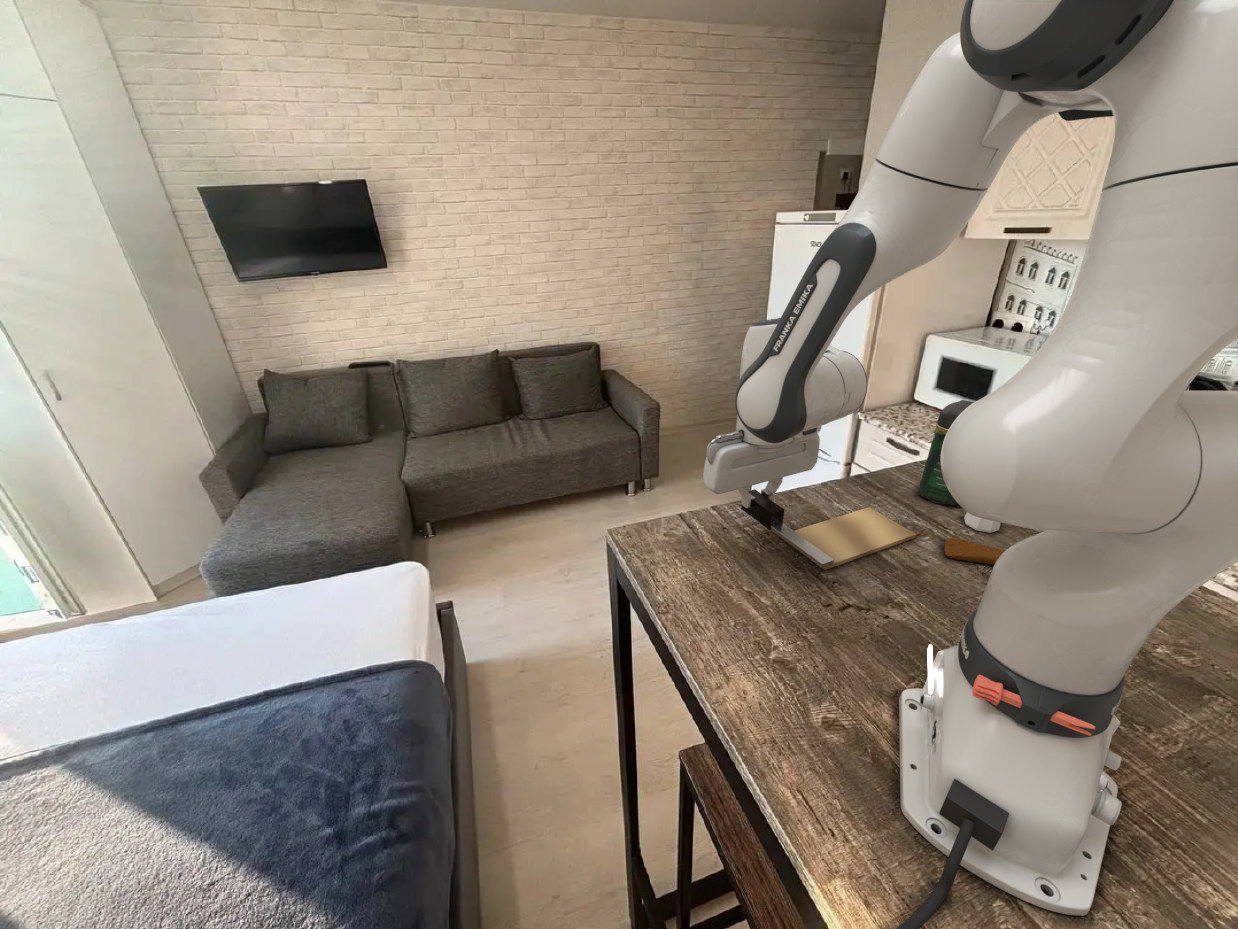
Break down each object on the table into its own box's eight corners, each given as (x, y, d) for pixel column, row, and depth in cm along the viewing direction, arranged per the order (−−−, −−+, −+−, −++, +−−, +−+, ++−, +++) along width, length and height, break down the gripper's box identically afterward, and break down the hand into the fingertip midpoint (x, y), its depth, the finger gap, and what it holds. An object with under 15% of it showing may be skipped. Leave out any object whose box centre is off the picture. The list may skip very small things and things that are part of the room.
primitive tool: (944, 557, 82) (950, 539, 81) (944, 539, 87) (949, 522, 85) (1097, 593, 74) (1107, 574, 72) (1088, 572, 78) (1097, 553, 76)
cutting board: (824, 570, 80) (825, 566, 80) (782, 537, 89) (783, 533, 88) (915, 538, 87) (916, 534, 87) (868, 510, 96) (869, 506, 95)
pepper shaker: (958, 524, 90) (976, 469, 85) (968, 513, 94) (986, 459, 89) (994, 537, 87) (1014, 480, 82) (1003, 524, 90) (1023, 469, 85)
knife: (834, 564, 72) (838, 545, 71) (820, 568, 71) (823, 550, 70) (753, 505, 88) (754, 489, 86) (740, 508, 87) (742, 492, 85)
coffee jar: (958, 511, 94) (988, 418, 86) (912, 497, 99) (936, 407, 91) (971, 491, 100) (1000, 402, 92) (927, 479, 105) (951, 393, 97)
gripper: (720, 445, 72) (715, 527, 78) (830, 420, 79) (818, 497, 85) (696, 430, 77) (693, 509, 83) (802, 408, 84) (792, 482, 90)
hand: (757, 503), depth 84 cm, fingers closed on knife, 2 cm apart
